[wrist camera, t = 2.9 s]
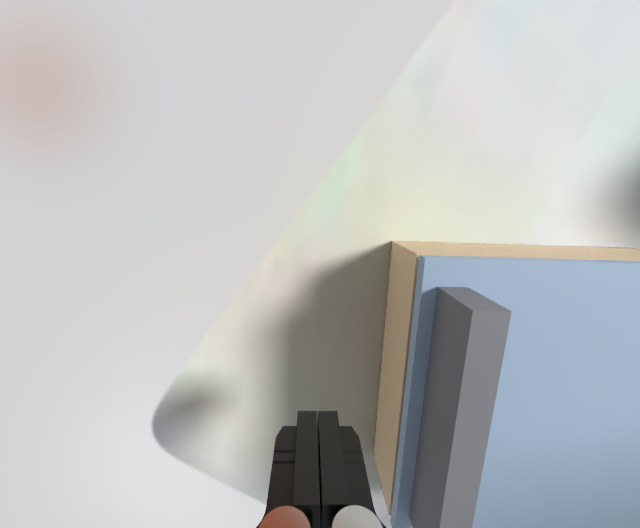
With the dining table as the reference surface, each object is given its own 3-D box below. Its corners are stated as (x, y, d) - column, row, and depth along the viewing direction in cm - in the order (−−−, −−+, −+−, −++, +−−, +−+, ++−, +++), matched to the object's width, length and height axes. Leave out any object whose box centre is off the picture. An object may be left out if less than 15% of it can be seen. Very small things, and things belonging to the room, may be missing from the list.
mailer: (633, 248, 16) (724, 261, 13) (579, 453, 19) (641, 511, 15) (392, 240, 15) (416, 253, 12) (373, 453, 18) (389, 514, 15)
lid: (734, 263, 12) (873, 284, 9) (647, 517, 15) (732, 597, 12) (419, 254, 12) (458, 274, 9) (390, 520, 14) (412, 606, 11)
